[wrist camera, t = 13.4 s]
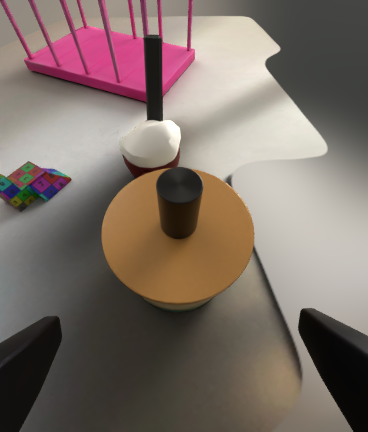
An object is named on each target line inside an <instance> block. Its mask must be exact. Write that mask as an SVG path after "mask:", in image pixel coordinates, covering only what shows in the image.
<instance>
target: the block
mask: <svg viewBox="0 0 368 432" xmlns="http://www.w3.org/2000/svg"><path fill="white" fill-rule="evenodd" d="M71 180H72V179H71V178H70V177H68V176H66V175H64V174H62V173H61V172H59V171H57V170H55V169H46V168H40V167H38V166H36V165H35V164H33V163H31V162H29V161H28V162H27V163H25V164H24V165H23V166H21V167H20V168H19V169H17V170H16V171H14V172H13V173H12V174H10V175H9V176H8V177H5V176H3V175H2V174H0V197H1V198H2V199H3V200H4V201H6V202H7V203H9V204H10V205H12V206H14V207H15V208H17V209H18V210H20V211H22V210H24V209H25V208H26V207H27V206H28V205H29V204H31V203H32V202H33V201H34V200H35V199H37V198H38V197H40V198H42V199H44V200H45V201H48V200H49V199H50V198H52V197H53V196H54V195H55V194H56V193H57V192H58V191H60V190H61V189H62V188H63V187H64V186H65V185H66V184H68V183H69V182H70V181H71Z"/></svg>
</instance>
